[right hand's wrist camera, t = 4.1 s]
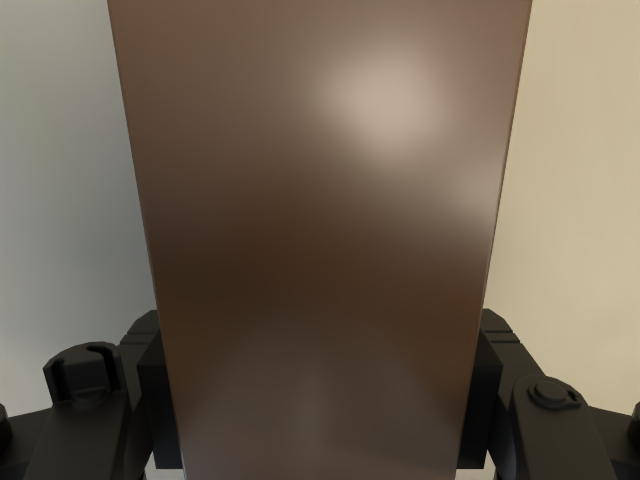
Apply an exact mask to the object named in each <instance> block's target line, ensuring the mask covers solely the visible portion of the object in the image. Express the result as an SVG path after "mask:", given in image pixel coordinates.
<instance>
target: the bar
mask: <svg viewBox="0 0 640 480" xmlns="http://www.w3.org/2000/svg"><path fill="white" fill-rule="evenodd" d="M107 4H108V10H109V16H110V22H111V28H112V34H113V40H114V47H115V53H116V59H117V65H118V71H119V77H120V84H121V90H122V96H123V102H124V108H125V114H126V120H127V127H128V133H129V139H130V145H131V151H132V157H133V163H134V170H135V176H136V182H137V188H138V194H139V200H140V206H141V213H142V219H143V225H144V231H145V237H146V243H147V249H148V256H149V262H150V268H151V274H152V280H153V286H154V292H155V299H156V305H157V311H158V317H159V323H160V329H161V335H162V342H163V348H164V354H165V360H166V366H167V372H168V379H169V385H170V391H171V397H172V403H173V409H174V415H175V422H176V428H177V434H178V440H179V446H180V452H181V458H182V465H183V471H184V477H185V480H455V475H456V469H457V463H458V457H459V451H460V444H461V438H462V432H463V426H464V420H465V414H466V407H467V401H468V395H469V389H470V383H471V377H472V370H473V364H474V358H475V352H476V346H477V340H478V333H479V327H480V321H481V315H482V309H483V303H484V296H485V290H486V284H487V278H488V272H489V266H490V259H491V253H492V247H493V241H494V235H495V229H496V222H497V216H498V210H499V204H500V198H501V192H502V185H503V179H504V173H505V167H506V161H507V155H508V148H509V142H510V136H511V130H512V124H513V118H514V111H515V105H516V99H517V93H518V87H519V81H520V74H521V68H522V62H523V56H524V50H525V44H526V37H527V31H528V25H529V19H530V13H531V7H532V0H107Z"/></svg>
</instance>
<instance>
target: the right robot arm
mask: <svg viewBox="0 0 640 480" xmlns="http://www.w3.org/2000/svg"><path fill="white" fill-rule="evenodd" d="M43 372H44V375H45V379H46V382H47V385H48V389H49V392H50V396H51V399H52V402H53V405H52V408H48V409H45V410H41V411H36V412H32V413H27V414H23V415H18V416H14V417H9V418H8V415H7V412H6V409H5V407H4V406H3V405H2V404H1V403H0V480H147V479H146V474H145V466H146V464H147V462H148V460H149V457H150V455H151V453H152V450H153V455H154V460H155V465H156V469H183V465H182V458H181V452H180V446H179V440H178V434H177V428H176V422H175V415H174V409H173V403H172V397H171V391H170V385H169V379H168V372H167V366H166V360H165V354H164V348H163V342H162V335H161V329H160V323H159V317H158V311H157V310H150V311H149V312H148V313H146V314H145V315H143V316H142V317H140V318H139V319H137V320H136V321H135V322H134V324H133V325H132V327H131V328H130V329H129V331H128V332H127V335H125V336H124V337H123V339H122V340H121V342H120V345H118V346H115V345H114V344H112V343H107V342H103V341H102V342H88V343H84V344H80V345H76V346H73V347H71V348H68V349H66V350H64V351H62V352H60V353H59V354H57V355H56V356H54V357H53V358H51V359H50V360H49V361H48V362H47V364H46V365H45V366H44V367H43ZM487 449H488V451H489V454H490V456H491V458H492V460H493V463H494V465H495V467H496V469H495V474H494V479H493V480H640V402H639V403H637V404H636V405H635V408H634V411H633V414H632V416H630V415H625V414H621V413H616V412H612V411H607V410H603V409H598V408H595V407H591V406H588V404H587V403H586V401H585V400H584V398H583V397H582V395H581V394H580V393H579V392H578V391H576V390H575V389H574V388H573V387H571V386H570V385H568V384H566V383H564V382H562V381H560V380H558V379H555V378H552V377H548V376H546V375H545V374H544V373H543V371H542V370H541V369H540V367H539V366H538V364H537V363H536V362H535V360H534V359H533V358H532V356H531V355H530V354H529V352H528V351H527V350H526V348H525V347H524V346H523V344H522V343H520V340H519V339H518V337H517V336H516V335H515V333H513V331H512V329H511V328H510V327H509V325H508V324H507V322H506V321H505V320H504V319H503V318H502V317H500V316H499V315H497V314H496V313H494V312H493V311H491V310H490V309H482V315H481V321H480V327H479V333H478V340H477V346H476V352H475V358H474V364H473V370H472V377H471V383H470V389H469V395H468V401H467V407H466V414H465V420H464V426H463V432H462V438H461V444H460V451H459V457H458V463H457V469H484V464H485V459H486V453H487Z"/></svg>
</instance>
